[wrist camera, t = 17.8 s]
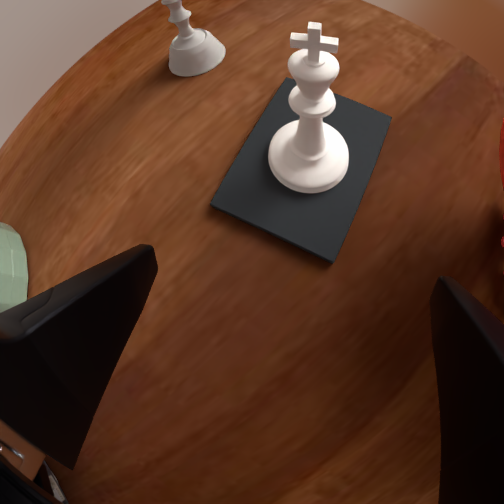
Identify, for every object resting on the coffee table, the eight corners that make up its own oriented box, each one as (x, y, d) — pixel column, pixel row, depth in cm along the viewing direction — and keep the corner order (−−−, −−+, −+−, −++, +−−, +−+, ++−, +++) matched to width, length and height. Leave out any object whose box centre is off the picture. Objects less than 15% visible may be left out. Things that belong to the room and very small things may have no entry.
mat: (332, 264, 17) (334, 262, 16) (211, 207, 18) (209, 204, 18) (389, 121, 18) (391, 117, 17) (286, 82, 19) (286, 76, 19)
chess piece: (344, 200, 17) (390, 86, 7) (261, 186, 17) (225, 64, 8) (351, 131, 17) (381, 6, 8) (276, 119, 18) (257, -9, 8)
